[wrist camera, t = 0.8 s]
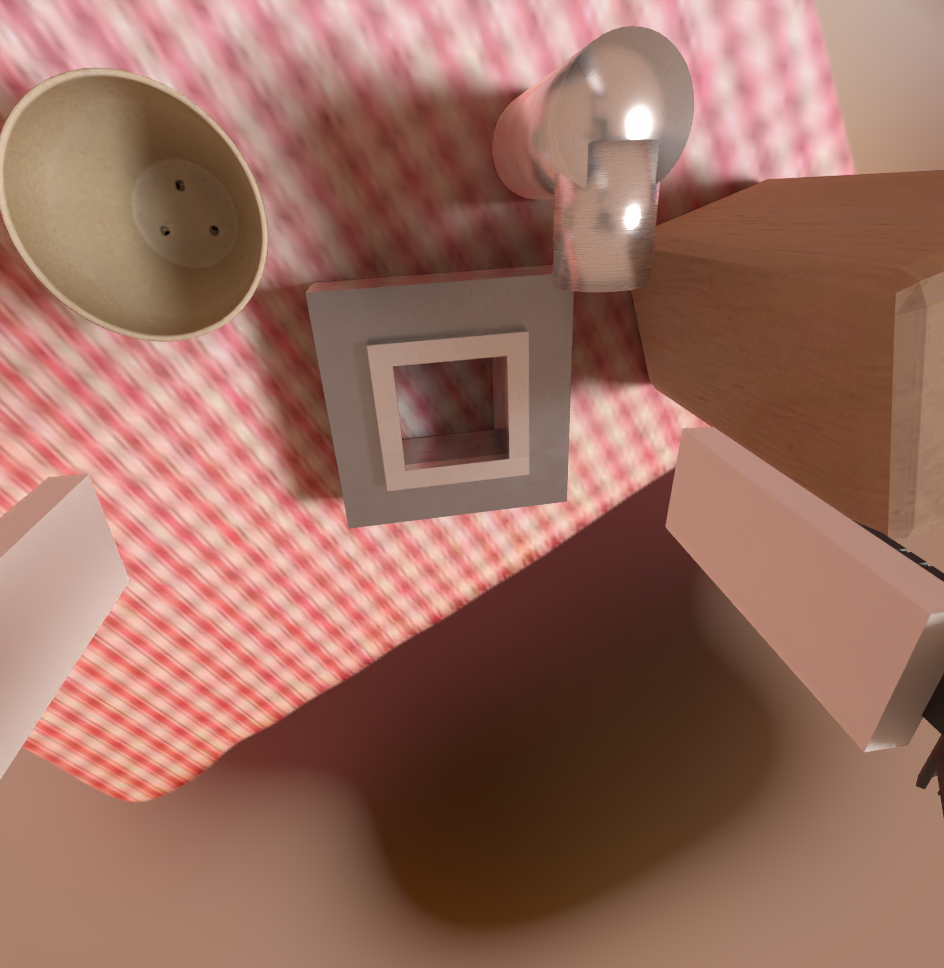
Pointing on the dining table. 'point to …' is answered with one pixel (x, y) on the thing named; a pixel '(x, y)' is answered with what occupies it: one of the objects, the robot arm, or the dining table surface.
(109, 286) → the flower pot
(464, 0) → the dining table surface
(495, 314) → the duct socket
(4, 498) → the dining table surface
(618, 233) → the elbow
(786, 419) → the block
